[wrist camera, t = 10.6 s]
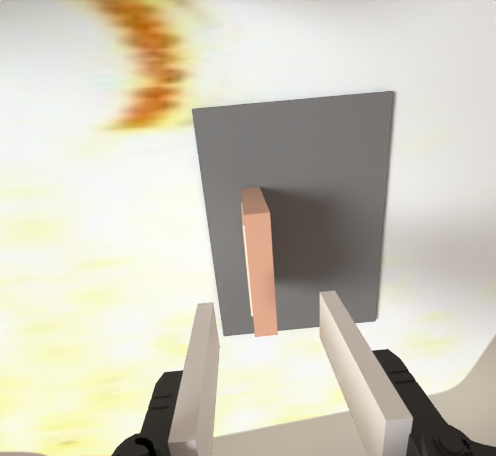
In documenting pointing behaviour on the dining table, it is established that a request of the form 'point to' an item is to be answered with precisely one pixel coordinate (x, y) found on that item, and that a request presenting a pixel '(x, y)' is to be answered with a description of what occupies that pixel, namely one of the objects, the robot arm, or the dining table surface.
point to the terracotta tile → (259, 261)
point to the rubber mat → (298, 201)
